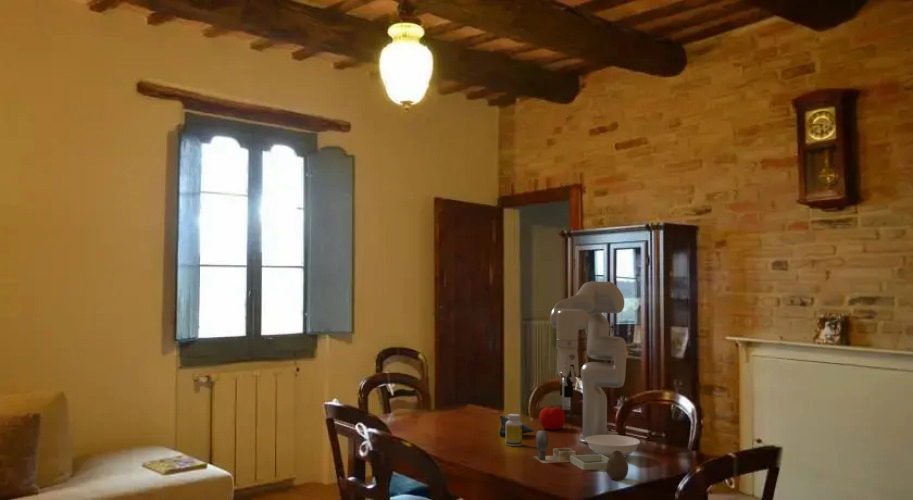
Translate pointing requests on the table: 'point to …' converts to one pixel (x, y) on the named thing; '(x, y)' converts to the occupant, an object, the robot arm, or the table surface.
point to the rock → (503, 427)
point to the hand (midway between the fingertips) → (566, 395)
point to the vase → (617, 466)
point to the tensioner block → (558, 453)
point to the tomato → (552, 417)
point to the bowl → (612, 444)
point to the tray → (580, 460)
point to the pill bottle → (513, 430)
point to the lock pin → (565, 400)
